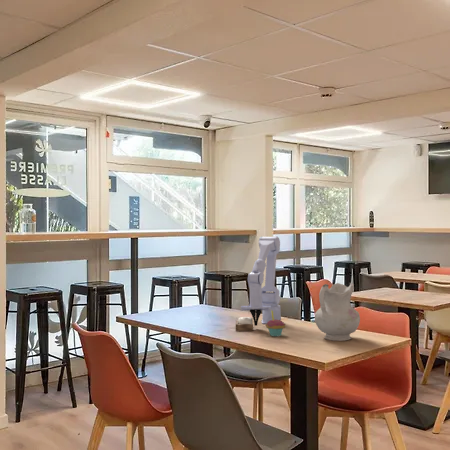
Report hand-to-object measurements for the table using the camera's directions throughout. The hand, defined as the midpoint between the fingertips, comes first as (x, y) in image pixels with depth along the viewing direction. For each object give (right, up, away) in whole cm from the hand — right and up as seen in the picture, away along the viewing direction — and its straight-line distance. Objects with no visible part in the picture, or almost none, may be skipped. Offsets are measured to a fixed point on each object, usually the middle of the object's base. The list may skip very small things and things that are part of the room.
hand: (255, 325), depth 272 cm
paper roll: (-5, -2, 0) cm, 5 cm away
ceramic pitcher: (+34, -2, -25) cm, 42 cm away
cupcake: (+8, -2, -16) cm, 18 cm away
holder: (-6, -2, 0) cm, 6 cm away
